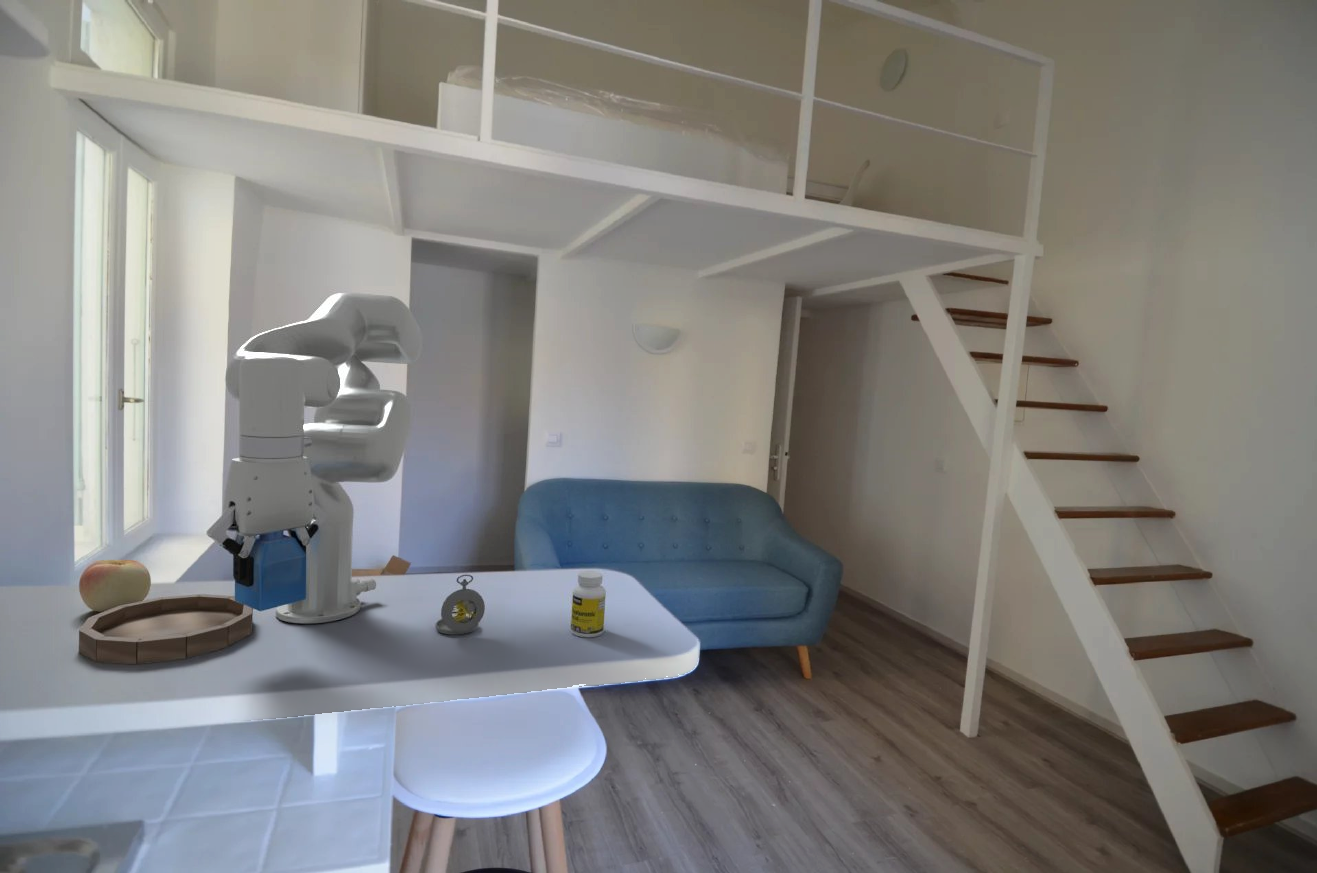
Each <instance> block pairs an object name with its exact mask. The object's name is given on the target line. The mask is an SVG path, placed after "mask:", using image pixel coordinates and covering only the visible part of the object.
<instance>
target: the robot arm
mask: <svg viewBox="0 0 1317 873" xmlns="http://www.w3.org/2000/svg"><path fill="white" fill-rule="evenodd" d="M422 351H423V334H422V331H421V328H420V326H419V324H418V323H417V320H416V319H415V317H414V315H413V313H412V312H411V310H410V309H409V307H408V306H407V305H406V304H405V302H403V301H402V300H400V299H399V298H397V297H395V296H391V295H381V294H373V293H372V294H370V293H360V292H359V293H357V292H339V293H335V294H332V295H331V296H329V297H328V298H327V299H326V300H325V301H324V302H323V303H322V304H321V305H320V306H319V307H318V308H317V309H316V310H315V311H314V312H313V314H312V315H310V317H309V318H308V319H307V320H304V321H298V322H295V323H292V324H287V325H284V326H282V327H277V328H273V329H271V330H267V331H264V332H262V333H259V334H257V335H255V336H253V337H251V338H250V339H249V340H247V341H246V342H245V343H244V344H243V345H242V346H241V347H240V348H238V350H237V351H236V352H234V354H233V356H232V357H231V358H230V361H229V362H228V365H227V368H226V371H225V380H224V381H225V386H226V389H227V391H228V393H229V394H230V396H231V397H232V398H234V400H235V401H238V411H239V413H238V432H239V433H238V457H237V458H232V459H231V462H230V465H229V469H228V473H227V478H226V484H225V490H224V498H223V508H222V511H223V513H222V515H221V516H220V517H219V518H218V519H217V520H216V521H215V522H214V523H213V524H212V525H211V526H210V527H209V528H208V529H207V530H206V535H207V536H208V537H209V539H211V540H213V541H214V542H216V543H217V544H219V546H221V547H222V548H223V549H224V550H226V551H227V552H228V553H229V554H231V555H232V561H233V562H232V564H233V565H232V569H233V570H232V573H233V574H232V576H233V579H234V581H235V580H236V582H237V583H238V584H241V585H243V586H246V587H250V586H252V585H253V584H254V558H253V557H252V556H250V551H251V549H252V546H253V544H254V542H255V539H256V537H257V536H259V535H263V534H269V533H273V532H274V533H275V532H277V531H284V532H285V531H286V532H287V534H288V536H289V537H293V538H295V540H296V541H297V543H298V544H299V545H300V547H301V548H302V550H303V551H304V553H305V554H306V556H307V560H306V599H304V600H301V601H297V602H293V603H290V604H286V605H282V606H279V607H275V616H276V617H277V619H279V620H280V621H282V622H285V623H292V624H304V625H305V624H311V625H312V624H321V623H322V624H323V623H329V622H335V621H338V620H339V621H340V620H343V619H345V618H346V619H347V618H349V617H351V616H353V615H355V614H357V613H358V612H359V611H360V610H361V600H360V599H359V598H357V596H360V595H361V593H364V592H365V593H366V592H370V591H374V590H376V588H377V582H376V580H375V579H373V578H369V579H366V580H363V581H362V580H361V581H360V580H359V578H358V579H352V576H353V575H352V571H353V568H352V566H353V565H352V564H353V542H354V541H353V538H354V537H353V535H354V515H355V514H354V505H353V501H352V499H351V498H350V496H349V494H348V493H347V492H346V490H345V489H344V488H343V486H342V484H340V483H345V482H347V483H349V482H350V483H375V484H376V483H377V484H378V483H385V482H389V481H390V480H391V479H393V478H394V476H395V475H396V473H397V472H398V469H399V467H400V464H401V461H402V458H403V455H404V452H405V449H406V446H407V443H408V440H409V438H410V435H411V434H410V433H411V431H412V430H411V429H412V427H413V426H412V424H413V407H412V404H411V401H410V399H409V398H408V397H407V396H406V394H404V393H403V392H400V391H397V390H390V389H381V385H380V382H379V380H378V378H377V377H376V375H375V374H374V373H373V371H372V370H371V369H370V367H368V366H367V365H366V364H364V363H363V362H367V363H384V364H385V363H386V364H396V365H398V364H399V365H400V364H403V365H407V364H413V363H415V362H416V361H418V359H419V358H420V356H421V354H422ZM308 408H309V409H315V410H314V415H313V422H309V423H305V409H308ZM227 531H229V532H235V534H234V535H233V538H231V537H230V536H229V535H228V534H227Z"/></svg>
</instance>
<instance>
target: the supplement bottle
mask: <svg viewBox="0 0 1317 873" xmlns="http://www.w3.org/2000/svg"><path fill="white" fill-rule="evenodd" d="M577 583H578V584H577V585H575V586H574V587H573V590H572V600H571V616H570V632H571V633H572V634H573V635H574V636H577V637H581V638H595V637H599V636H601V635H602V634H603V633H604V630H605V629H604V625H605V609H606V594H607V591H606V588H605V587H603V586H602V584H603V573H602V572H599V571H595V570H583V571H580V572H578V573H577Z"/></svg>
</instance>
